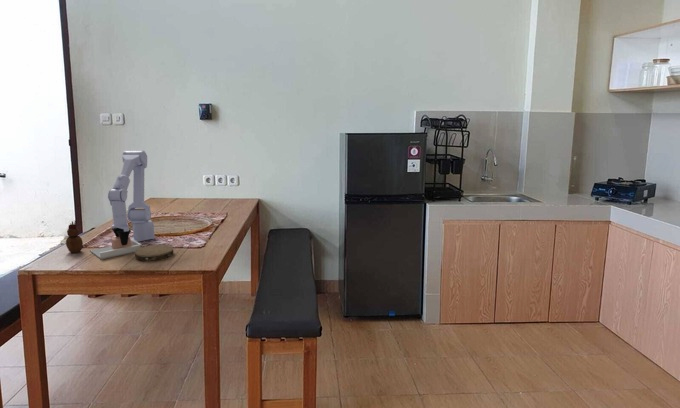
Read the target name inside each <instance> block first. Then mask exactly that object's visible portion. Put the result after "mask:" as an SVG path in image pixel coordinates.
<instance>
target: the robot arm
mask: <svg viewBox="0 0 680 408" xmlns="http://www.w3.org/2000/svg"><path fill="white" fill-rule="evenodd" d="M121 158H122V162H123V164H122V169H121V172H120V175H117V177H116V179H115V182H114V185H113V188H111V189H110V190H108V193H107V198H108V201H109V205H110V207H111V210H112V213H111V214H112V220H113V221H112V225H110V227H111V230H112V232H113V233H114V235H115V237H120V240H121V244H122V245H127V243H128V237H130V234H131V231H132V237H130V238H131V239H133V240H135V241H137V242H138V243H140V242H142V241H148V240H149V241H150V240H155V239H156V237H155V226H154V223H153V221H152V220H151V217H152V212H151V206H150V205H149V204H148V203H146V202H145V170H146V168H148V155H147V153H146V151H145V150H124V151H123V152H122V155H121ZM132 173H133V179H132V180H133V183H132V185H133V193H132V194H133V195H132V196H133V197H132V199H133V201H132V203H131V204H129V205H128V207H127V205H126V201H127V200H128V188H129V185H130V182H131V179H130V177H131V174H132ZM128 221H130V224H131V225H132V226H131V227H132V230H131V229H130V227H129V223H128Z"/></svg>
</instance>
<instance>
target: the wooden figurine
mask: <svg viewBox="0 0 680 408" xmlns="http://www.w3.org/2000/svg"><path fill="white" fill-rule="evenodd" d="M77 226H78V225H77V221H76V219H75V220H74V221H73V220H72V221H71V223H69V224H68V228H67V231H66V233H67V236H68V237H67V238H66V240H65V247H66V248H67V250H68V251H69V253H72V254H77V253H80V252H81V251H82V250H83V246H84V244H83V242H84V241H83V239H82V237H81V236H80V235H79V234H80V230H79V228H78V227H77Z"/></svg>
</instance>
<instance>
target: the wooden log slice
mask: <svg viewBox="0 0 680 408" xmlns="http://www.w3.org/2000/svg"><path fill="white" fill-rule="evenodd" d="M173 255H174V247H173V246H171V245H169V244H168V245H167V244H154V245H147V246H142V248H140V249H137V250H136V251H135V253H134V258H135V260H136V261H139V262H144V263H145V262H148V263H150V262H158V261H159V262H160V261H163V260H167V259H169V258H172V257H173Z"/></svg>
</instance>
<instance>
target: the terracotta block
mask: <svg viewBox="0 0 680 408" xmlns="http://www.w3.org/2000/svg"><path fill="white" fill-rule="evenodd" d="M130 238H131V237H130V236H129V237H128V243H127V245H122V244H121V240H120V237H116V236H114V237H111V238H110V240H111V246H112V249H113V250H115V249H120V248H125V247H130V246H131V240H130Z"/></svg>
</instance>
